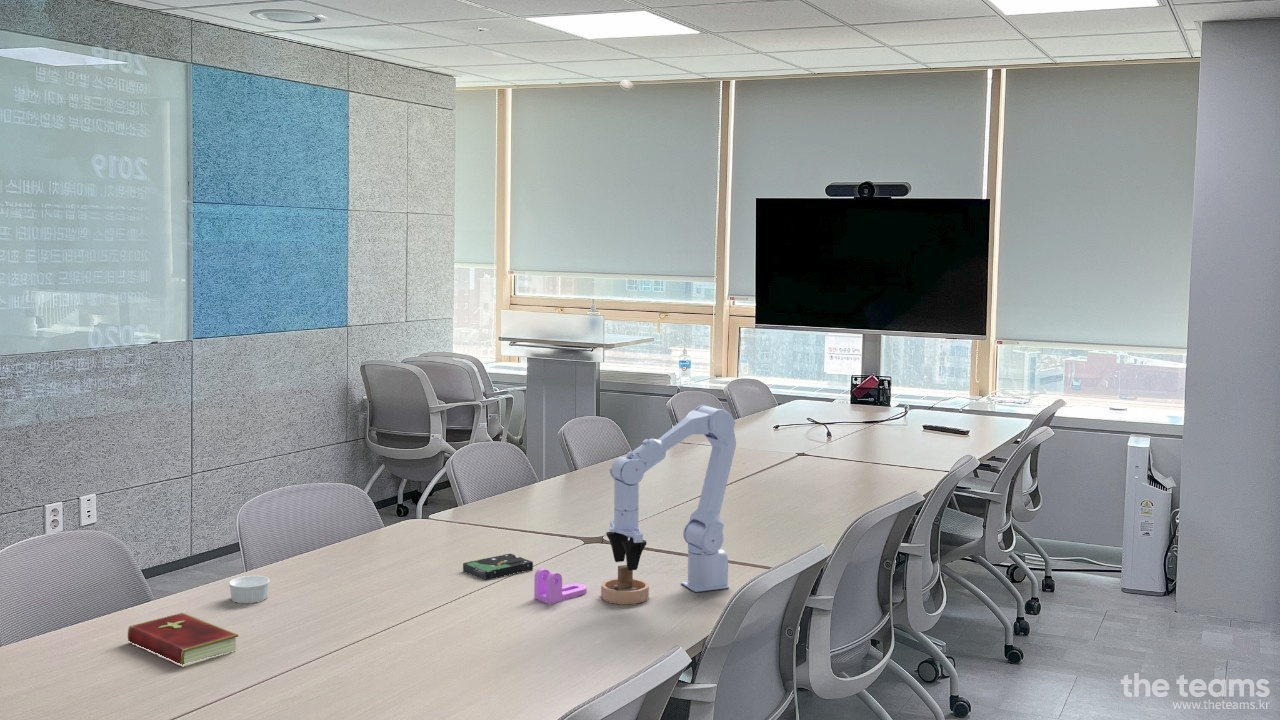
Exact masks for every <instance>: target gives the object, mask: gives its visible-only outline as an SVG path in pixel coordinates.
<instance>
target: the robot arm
mask: <svg viewBox="0 0 1280 720" xmlns="http://www.w3.org/2000/svg"><path fill="white" fill-rule="evenodd" d="M687 413H688V414H686V416H685V417H684V418H683V419H681V420H680V421H679V422H678V423H676V424H675V425H674V426H673V427H672V428H671V429H669V430H668V431H667V432H665V433H664V434H663V435H662V436H661V437H659V438H657V439H655V438H650V439H647V438H645V439H644V440H643V441H642V444H641V445H639V446H638V447H636V448H635V449H634V450H632V451H628V452H626V456H620V457H618V458H616V459H615V460H614V461H613V463H612V465H611V468H609V473H610V476H611V477H612V478H613V482H614V487H613V488H614V489H613V493H614V494H613V495H614V498H613V499H614V501H613V507H614V508H613V520H610V521H609V523H610V524H609V525H610V526H609V530H608V531H607V532H606V533H605V535H606V537H607V538H608V541H609V543H610V546H611V550H612V555H613V559H614V562H615V563H621V562H624V561H626V565H627V568H628V570H629V571H631V570H633V571H637V570H638V567H639V564H640V559H641V556H642V553H643V551H644V549H645V547H646V546H647V540H645V539H644V536H643V535H644V534H643V533H642V532H641V528H640V527H639V502H640V501H639V498H640V497H639V496H640V495H639V491H640V490H639V489H640V487H639V486H640V485H639V483H640V482H641V481H642V480H643V478H644V476H645V475H644V474H645V473H647V471H649V470H650V469H652V468H653V467H655V466H657V464H659V463H660V462H662V461H663V460H664V459H665V458H666V454H667V451H668V450H670V449H671V448H674V447H675V446H677V445H678V444H679V443H681V442H683V441H684V440H686V439H687V438H689V437H691V436H692V435H704V436H705V437H706V439H707V441H708V442H709V444H710V445H711V451H710V456H709V461H708V464H707V468H706V472H705V476H704V477H705V478H704V480H703V485H702V490H701V493H700V497H699V502H698V505H697V509H696V510H694V511H693V512H692V513H691V514H690V515H689V516H690V517H689V519H688V522H687V523H686V524H685V525H684V527H683V533H682V535H683V539H684V540H685V543H687V580H683V581H680V584H681V585H682V586H684V587H686V588H688V589H690V590H691V591H693V592H695V593H696V592H697V593H700V592H708V591H714V590H715V591H716V590H723V589H729V588H730V585H728V584H729V582H728V581H729V577H728V576H729V559H728V554H727V552H726V551H725V550H724V549H722V547H723V544H724V534H723V530H724V526H725V525H724V522H723V519H722V517H721V515H720V514H721V509H722V506H723V505H722V504H723V501H724V498H725V493H726V489H727V484H728V480H729V475H730V472H731V467H732V463H733V459H734V454H735V450H736V446H737V445H736V444H737V441H736V439H737V438H736V433H735V429H734V428H735V424H736V420H735V419H734V417H733V416H732V415H731V413H730V412H729V411H728V410H726V409H723V408H722V409H720V408H715V407H712V406H709V405H707V404H700V405H698V406H697V407H695V409H693V410H690V411H689V412H687Z"/></svg>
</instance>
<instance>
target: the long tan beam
mask: <svg viewBox="0 0 1280 720" xmlns="http://www.w3.org/2000/svg"><path fill="white" fill-rule="evenodd" d="M633 571H634V570H631V571H629V570H628V568H627V564H624V565H617V578H618V591H620V589H629V588H632V584H633V579H634V577H633V575H634V573H633Z"/></svg>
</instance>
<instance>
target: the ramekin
mask: <svg viewBox="0 0 1280 720" xmlns="http://www.w3.org/2000/svg"><path fill="white" fill-rule="evenodd" d="M270 581H271V579H270V577H267V576H264V575H244V576H243V575H242V576H238V577H236V578H233V579H231V580H230V581H229V583H228V585H229V588H230V597H231V601H232V602H233V601H234V603H235V602H237V603H236V604H240V603H250V604H254V603H253V602H257V603H259V602H258V601H261V602H263V601H265V600H267V599H268V597H269V589H270V588H269V586H270ZM264 599H265V600H264ZM262 600H263V601H262Z"/></svg>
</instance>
